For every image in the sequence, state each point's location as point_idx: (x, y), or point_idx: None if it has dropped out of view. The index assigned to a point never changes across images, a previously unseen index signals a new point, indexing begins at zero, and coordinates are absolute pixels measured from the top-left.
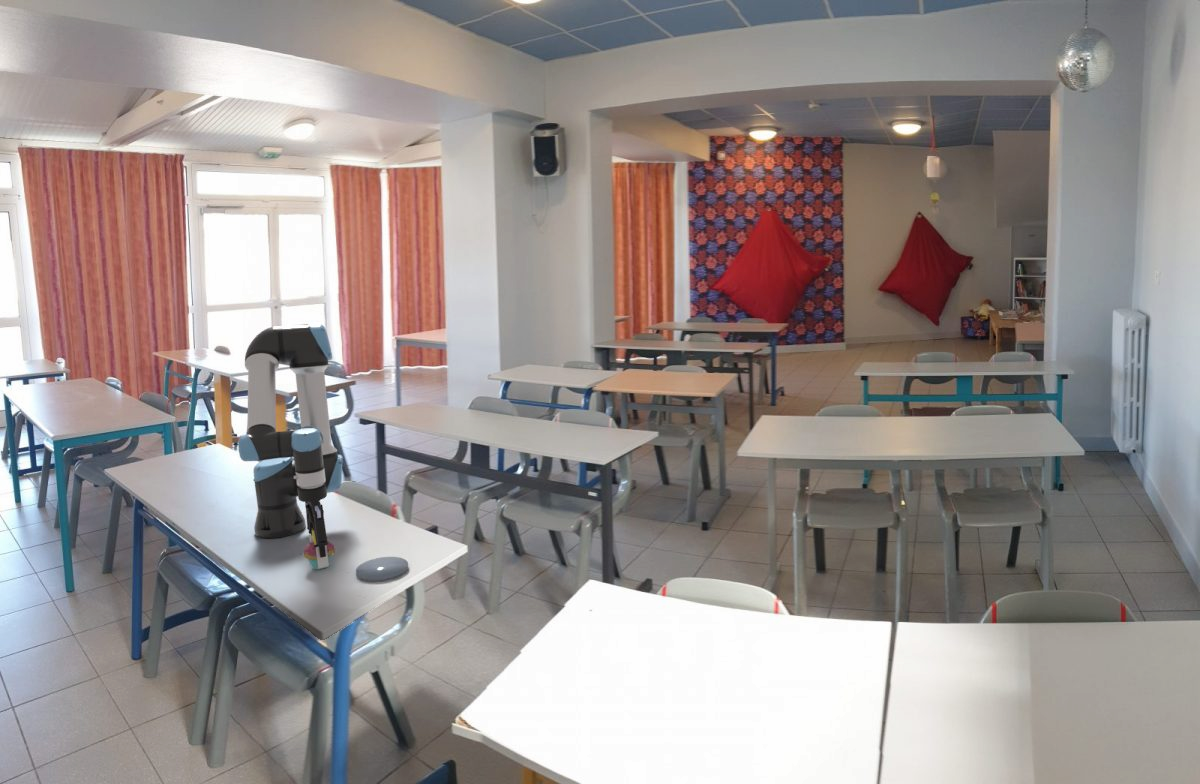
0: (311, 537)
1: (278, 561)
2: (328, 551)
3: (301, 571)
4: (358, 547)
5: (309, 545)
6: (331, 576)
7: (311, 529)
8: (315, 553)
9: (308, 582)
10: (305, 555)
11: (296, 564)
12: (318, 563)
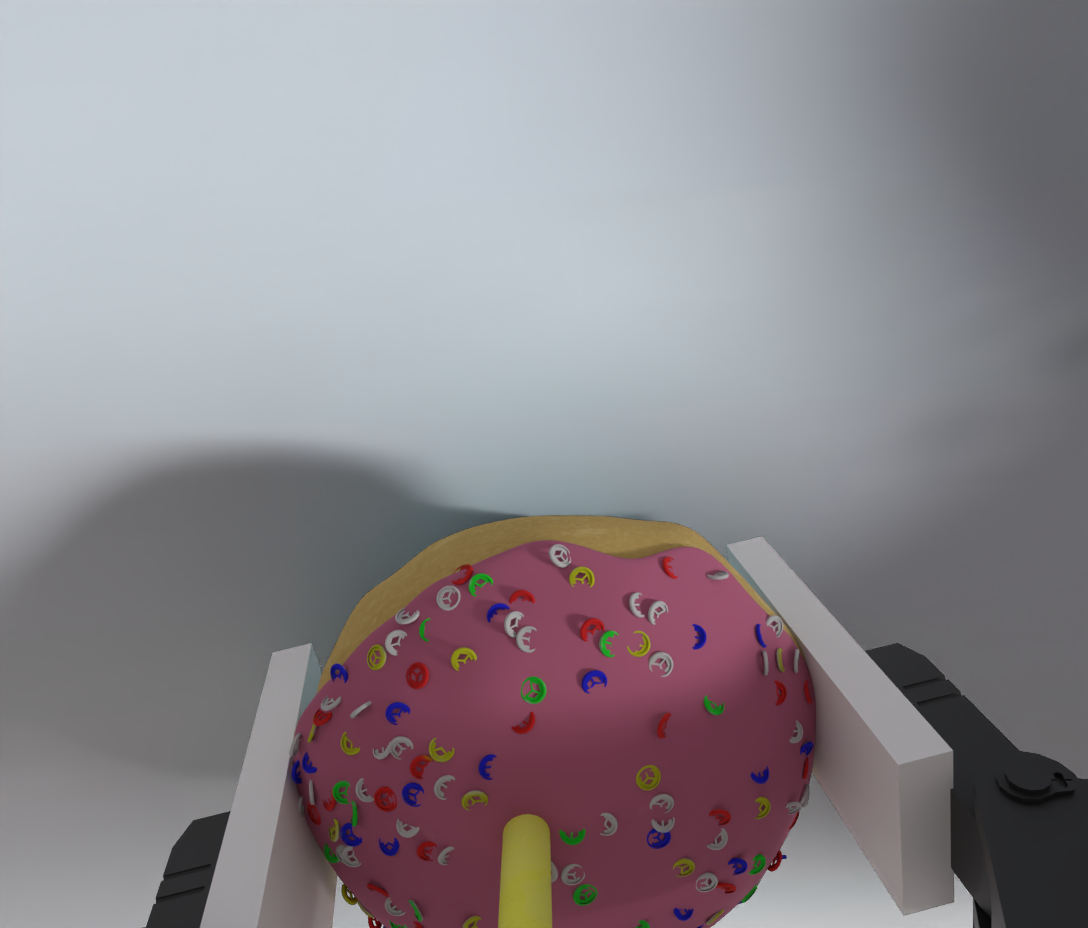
0: (878, 759)
1: (1004, 30)
2: (377, 921)
3: (462, 383)
4: (892, 919)
5: (574, 715)
6: (146, 748)
7: (997, 910)
8: (319, 768)
9: (12, 498)
10: (421, 574)
11: (751, 303)
12: (260, 702)
